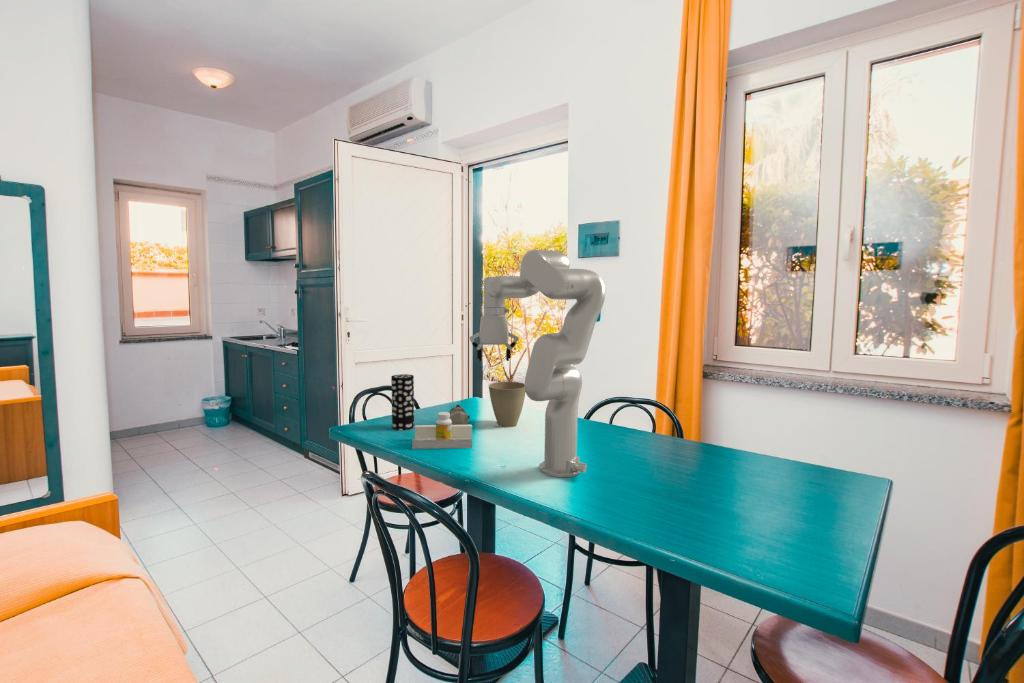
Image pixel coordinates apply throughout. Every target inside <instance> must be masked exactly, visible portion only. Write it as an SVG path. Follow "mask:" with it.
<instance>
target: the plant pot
mask: <svg viewBox="0 0 1024 683" xmlns="http://www.w3.org/2000/svg"><path fill="white" fill-rule="evenodd" d="M488 392H489V398H490V402H491V406H492V411H493V414H494V417H495V420H496V422H497V424H498V426H499V427H502V428H503V427H504V428H511V427H512V428H513V427H516V426H517V425H518V422H519V419H520V416H521V414H522V410H523V407H524V402H525V398H526V397H525V396H526V391H525V382H524V383H522V382H519V381H496V382H492V383H489V384H488Z"/></svg>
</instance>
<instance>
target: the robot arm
mask: <svg viewBox="0 0 1024 683" xmlns="http://www.w3.org/2000/svg"><path fill="white" fill-rule="evenodd" d="M519 270H520V271H519V275H497V276H486V277H484V279H483V315H481V316H480V323H479V331H478V332H476V333H473V335H471V336H469V341H470V342H471V345H472V346H473V347H475V349H476V350H477V351H476V352H477V353H476V354H477V355H476V356H477V357H476V359H478V360H479V362H482V351H483V350H482V347H484V345H486V346H487V345H491V346H493V345H495V346H496V345H499V346H500V345H502V346H503V345H504V346H505V347H506V349H505V350H506V351H505V352H506V353H505V360H506V361H507V362H509V360H510V359H511V355H512V354H511V352H512V349H514V348H515V346H516V345H517V342H518V341H519V339H520V338H519V336H517V335H515V334H513V333H511V332H509V323H508V322H509V321H508V316H506V314H509V313H510V309H509V308H506V299H525V298H529V297H531V296H532V297H533V296H534V295H536V294H537V293H539V292H540V293H541V295H543V296H544V297H546V298H548V299H551V300H559V301H560V300H561V301H562V300H563V301H564V300H576V302H575V303H574V304H573V305H572V306H571V308H570V309H569V310H568V312H567V313H566V315H565V317H564V320H563V325H562V326H561V329H560V330H559V331H558V332H551V333H544V334H542V335H541V336H539V337H538V338H537V339H536V340H535V342H534V344H533V346H532V349H531V353H530V357H529V361H528V363H527V364H528V365H527V369H526V372H525V377H524V384H525V391H526V392H525V395H526V396H527V397H528V398H529V400H531V401H534V402H545V401H548V403H547V406H546V407H545V408H546V409H545V412H544V413H545V416H544V417H545V418H544V421H545V422H544V461H542V462H540V463H539V465H538V470H539V471H540V472H541V473H542V474H544V475H546V476H549V477H553V478H571V477H575V476H577V475H580V474H581V473H584V474H585V473H586V472H587V467H588V464H587V463H584V462H581V461H580V459H581V458H580V457H581V456H578V455H577V454H578V453H577V452H578V449H577V448H578V419H579V418H578V416H579V415H578V414H579V413H578V412H579V402H580V396H581V392H582V389H583V388H582V385H583V379H582V375H581V372H580V370H578V369H577V368H576V367H574V366H576V365H579V364H581V363H582V362H583V361H584V360H585V358H586V356H587V355H586V354H587V352H588V350H589V346H590V343H591V339H592V336H593V332H594V329H595V326H596V323H597V320H598V318H599V315H600V313H601V311H602V309H603V306H604V303H605V298H606V288H605V283H604V281H603V279H602V277H601V276H600V275H599V274H598V273H597V272H595V271H593V270H591V269H587V268H586V269H585V268H570V261H569V258H568V256H567V255H565V253H562V252H561V251H558V250H546V249H545V250H543V249H533V250H532V249H531V250H529V251H527V252H526V253H525V254H524V255H523V257H522V258H521V262H520V269H519ZM478 337H479V343H477V342H476V341H475V339H476V338H478ZM509 338H512V339H513V341H511V343H510V344H509Z"/></svg>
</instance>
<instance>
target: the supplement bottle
mask: <svg viewBox="0 0 1024 683" xmlns="http://www.w3.org/2000/svg"><path fill="white" fill-rule="evenodd" d="M449 417H450V413H449V412H448V411H440V412H438V413H437V419H436V420H435V425H436V438H452V421H451V419H449Z"/></svg>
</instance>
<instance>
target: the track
mask: <svg viewBox="0 0 1024 683" xmlns="http://www.w3.org/2000/svg"><path fill="white" fill-rule="evenodd" d="M411 444H412V445H411V446H412V447H411V449H412V450H428V449H429V450H430V449H431V450H432V449H435V450H436V449H437V450H438V449H441V450H442V449H473V425H472V424H467V425H452V438H436V424H430V425H428V424H426V425H425V424H422V425H419V424H418V425H417V424H416V425H414V438H412V440H411Z"/></svg>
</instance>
